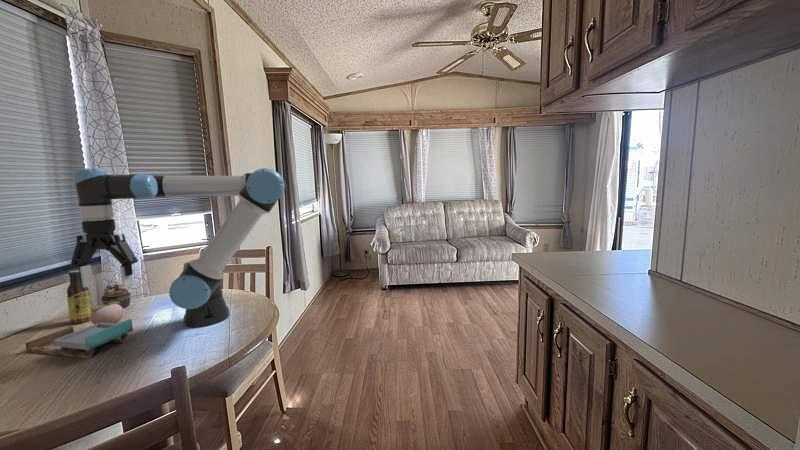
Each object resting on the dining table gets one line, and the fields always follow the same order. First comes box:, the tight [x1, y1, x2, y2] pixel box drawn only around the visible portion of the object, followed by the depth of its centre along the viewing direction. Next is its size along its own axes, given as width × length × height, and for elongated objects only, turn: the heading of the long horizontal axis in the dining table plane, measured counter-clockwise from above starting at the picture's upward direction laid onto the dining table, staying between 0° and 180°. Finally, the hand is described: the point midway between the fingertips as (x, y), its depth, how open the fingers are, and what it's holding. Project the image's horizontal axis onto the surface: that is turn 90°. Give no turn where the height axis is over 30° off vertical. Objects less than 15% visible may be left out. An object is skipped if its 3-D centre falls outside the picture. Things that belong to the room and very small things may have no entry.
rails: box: [25, 326, 127, 359], centre depth 107 cm, size 24×12×3 cm, turn 78°
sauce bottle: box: [66, 269, 92, 325], centre depth 126 cm, size 6×6×20 cm
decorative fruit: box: [89, 302, 124, 325], centre depth 120 cm, size 9×8×10 cm
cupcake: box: [100, 283, 132, 309], centre depth 140 cm, size 10×10×10 cm
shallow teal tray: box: [52, 318, 134, 354], centre depth 105 cm, size 14×13×6 cm
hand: (108, 285), depth 104 cm, fingers open, 13 cm apart
